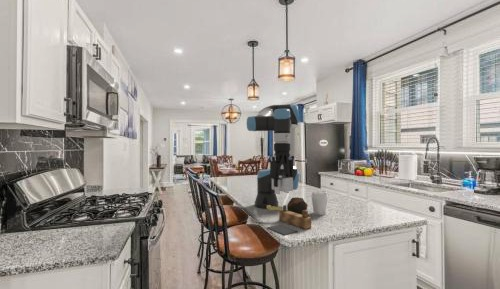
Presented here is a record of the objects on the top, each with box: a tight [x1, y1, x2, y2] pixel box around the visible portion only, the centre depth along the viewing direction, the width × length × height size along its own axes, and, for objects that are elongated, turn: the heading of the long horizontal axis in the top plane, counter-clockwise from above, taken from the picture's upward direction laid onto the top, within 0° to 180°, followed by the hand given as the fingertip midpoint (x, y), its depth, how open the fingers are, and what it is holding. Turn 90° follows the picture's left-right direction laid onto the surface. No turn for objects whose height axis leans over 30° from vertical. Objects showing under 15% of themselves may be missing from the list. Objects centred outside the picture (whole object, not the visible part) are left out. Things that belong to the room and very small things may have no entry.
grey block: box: [272, 176, 294, 193], centre depth 121 cm, size 9×5×7 cm, turn 35°
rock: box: [286, 197, 308, 215], centre depth 145 cm, size 14×11×10 cm
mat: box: [266, 223, 298, 236], centre depth 121 cm, size 12×8×1 cm, turn 35°
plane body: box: [278, 204, 312, 230], centre depth 130 cm, size 18×4×8 cm, turn 35°
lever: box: [266, 205, 283, 211], centre depth 137 cm, size 2×8×2 cm, turn 76°
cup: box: [311, 190, 329, 216], centre depth 150 cm, size 9×9×12 cm
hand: (282, 193), depth 121 cm, fingers closed on grey block, 5 cm apart
